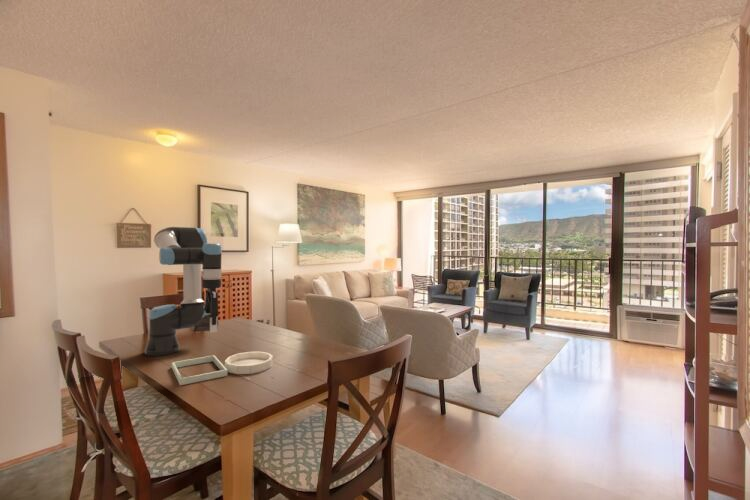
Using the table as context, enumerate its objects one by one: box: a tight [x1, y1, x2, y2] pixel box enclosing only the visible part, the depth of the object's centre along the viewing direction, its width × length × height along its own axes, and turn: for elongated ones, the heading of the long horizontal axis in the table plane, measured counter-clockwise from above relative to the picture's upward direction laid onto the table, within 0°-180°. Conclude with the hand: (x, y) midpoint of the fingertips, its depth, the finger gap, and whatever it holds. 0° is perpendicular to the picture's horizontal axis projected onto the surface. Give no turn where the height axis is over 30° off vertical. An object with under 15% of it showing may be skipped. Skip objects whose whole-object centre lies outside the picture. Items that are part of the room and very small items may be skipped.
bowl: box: [224, 351, 274, 375], centre depth 157 cm, size 20×20×4 cm
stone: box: [193, 314, 219, 333], centre depth 149 cm, size 10×8×10 cm
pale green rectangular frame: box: [171, 354, 229, 386], centre depth 148 cm, size 24×18×2 cm
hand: (211, 329), depth 150 cm, fingers closed on stone, 9 cm apart
